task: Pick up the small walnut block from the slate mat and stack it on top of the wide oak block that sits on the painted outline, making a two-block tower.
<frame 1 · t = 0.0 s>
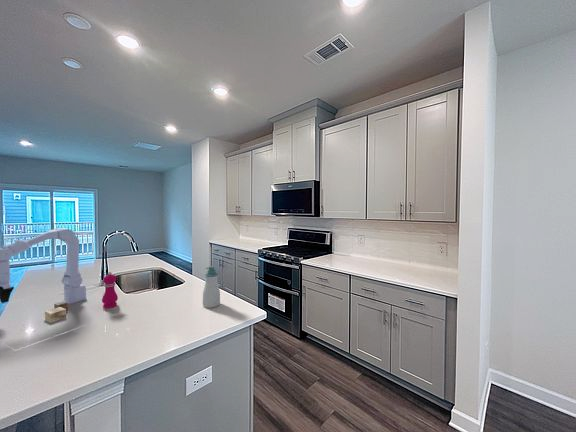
hand: (1, 300, 119), 10 cm above the counter, tool pointing down, fingers open, 7 cm apart
oak base: (55, 318, 123), resting on slate mat
soap bottle: (211, 305, 144), on the counter
walnut block: (61, 311, 131), resting on slate mat
pepper mill: (110, 307, 139), on the counter
slate mat: (60, 315, 127), on the counter
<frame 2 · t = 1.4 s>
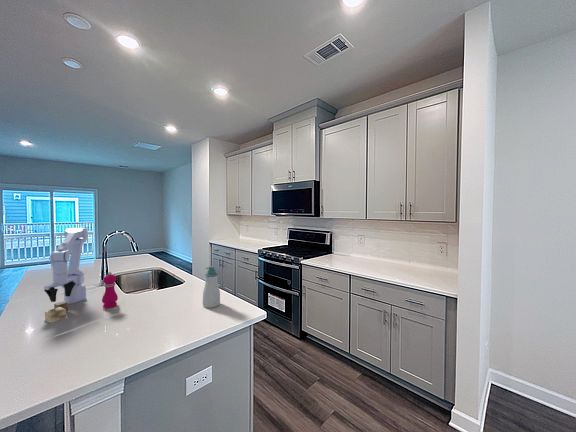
hand: (60, 298, 130), 7 cm above the counter, tool pointing down, fingers open, 7 cm apart
nothing on the counter moved.
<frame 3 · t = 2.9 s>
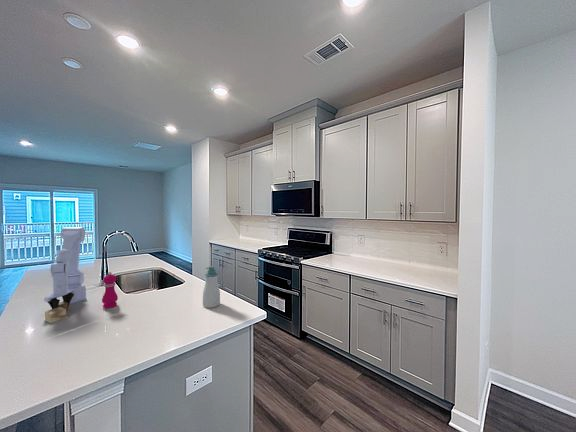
hand: (61, 309, 131), 1 cm above the counter, tool pointing down, fingers closed on walnut block, 5 cm apart
walnut block: (61, 311, 131), resting on slate mat, touching gripper
everything else where it was.
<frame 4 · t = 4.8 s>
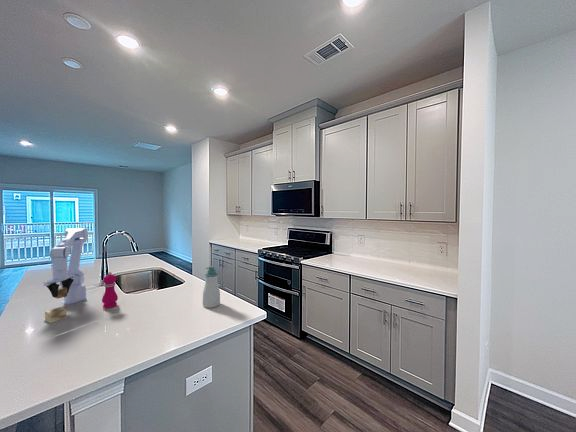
hand: (60, 295, 130), 9 cm above the counter, tool pointing down, fingers closed on walnut block, 5 cm apart
walnut block: (60, 296, 130), point 9 cm above the counter, touching gripper
everything else where it was.
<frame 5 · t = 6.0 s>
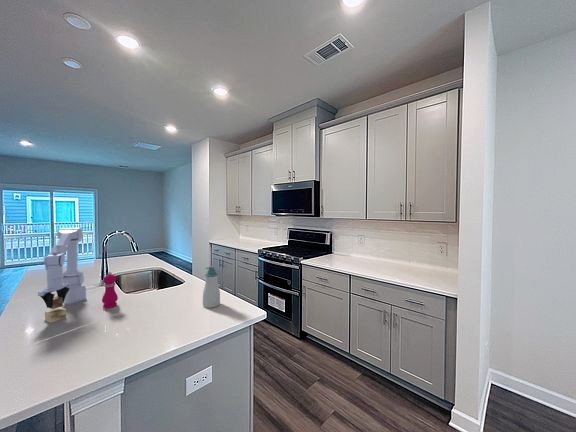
hand: (55, 305, 123), 7 cm above the counter, tool pointing down, fingers closed on walnut block, 5 cm apart
walnut block: (55, 306, 123), point 6 cm above the counter, touching gripper
everything else where it was.
when the fingers open (6 cm above the counter, at t = 7.1 s): walnut block moves 1 cm, resting on oak base.
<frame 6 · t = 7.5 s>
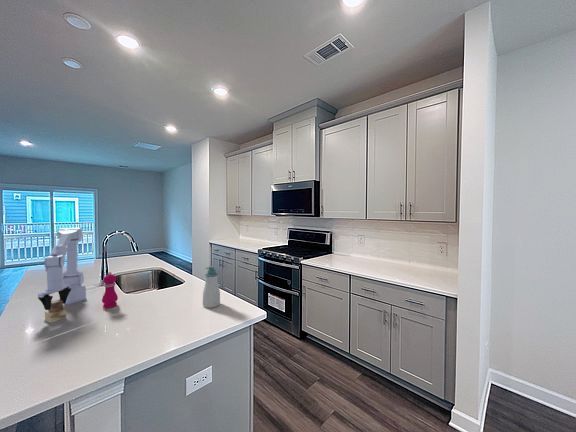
hand: (55, 306, 123), 6 cm above the counter, tool pointing down, fingers open, 7 cm apart
oak base: (55, 318, 123), resting on slate mat, touching walnut block
walnut block: (55, 310, 123), point 4 cm above the counter, touching oak base
everything else where it was.
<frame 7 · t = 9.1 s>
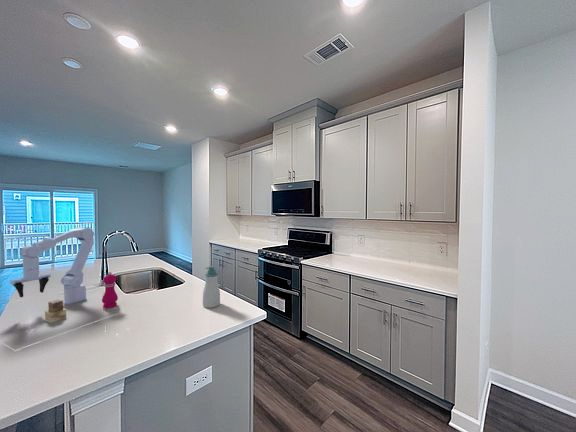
hand: (31, 294, 127), 10 cm above the counter, tool pointing down, fingers open, 7 cm apart
nothing on the counter moved.
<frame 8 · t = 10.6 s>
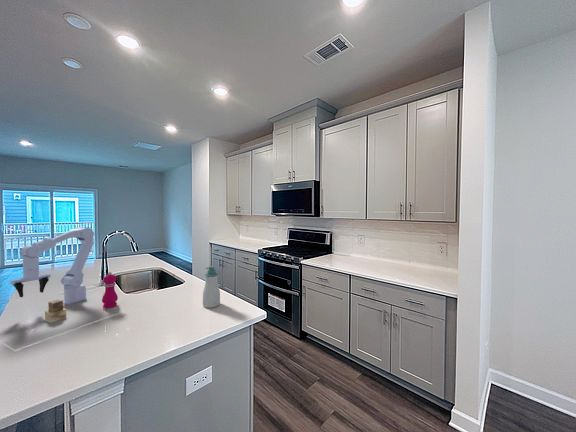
hand: (31, 294, 127), 10 cm above the counter, tool pointing down, fingers open, 7 cm apart
nothing on the counter moved.
at the end: walnut block 0.1 cm off-centre on the oak base, point 4.0 cm above the oak base's base; walnut block tilted 0°; oak base moved 0.0 cm from its start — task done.
